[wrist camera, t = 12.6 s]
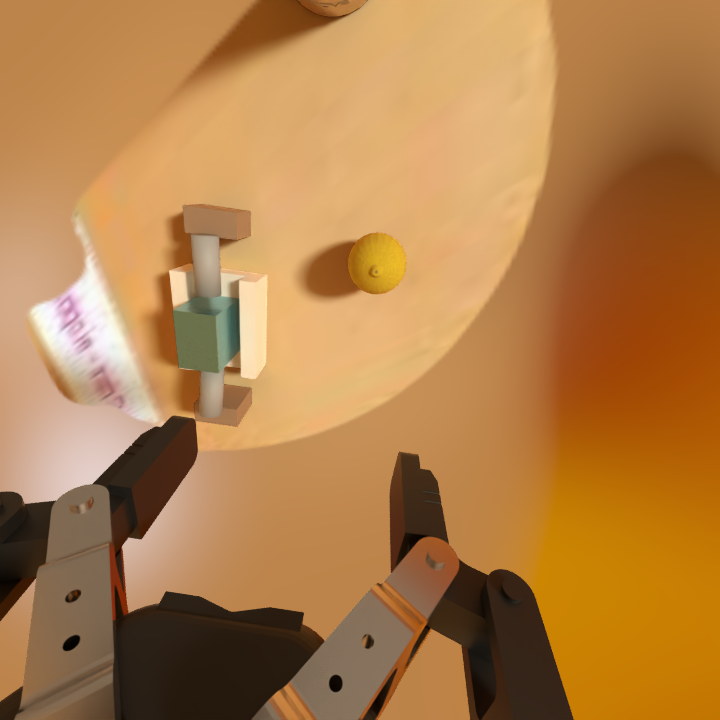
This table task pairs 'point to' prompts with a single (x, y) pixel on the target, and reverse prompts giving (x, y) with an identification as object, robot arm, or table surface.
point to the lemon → (377, 263)
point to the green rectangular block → (207, 333)
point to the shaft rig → (214, 281)
